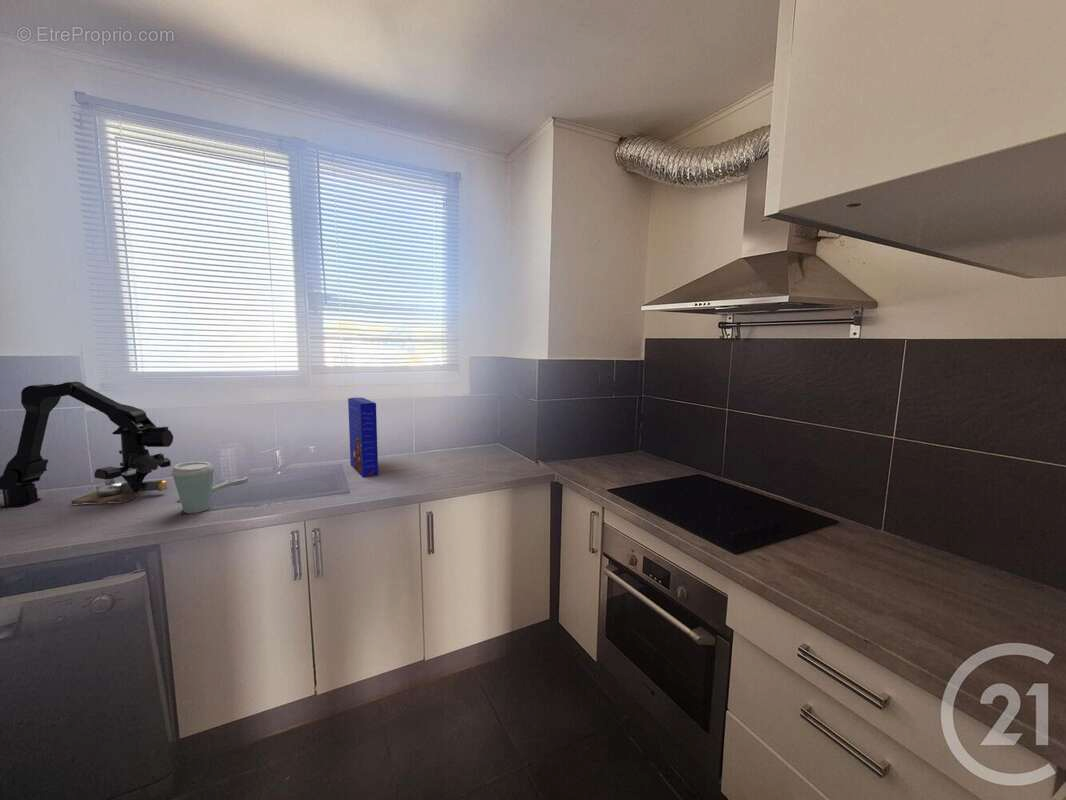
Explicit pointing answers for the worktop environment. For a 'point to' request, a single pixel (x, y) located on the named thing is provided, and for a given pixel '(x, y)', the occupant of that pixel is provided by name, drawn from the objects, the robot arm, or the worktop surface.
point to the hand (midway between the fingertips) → (136, 492)
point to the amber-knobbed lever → (127, 487)
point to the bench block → (105, 498)
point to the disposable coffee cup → (194, 485)
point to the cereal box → (363, 436)
